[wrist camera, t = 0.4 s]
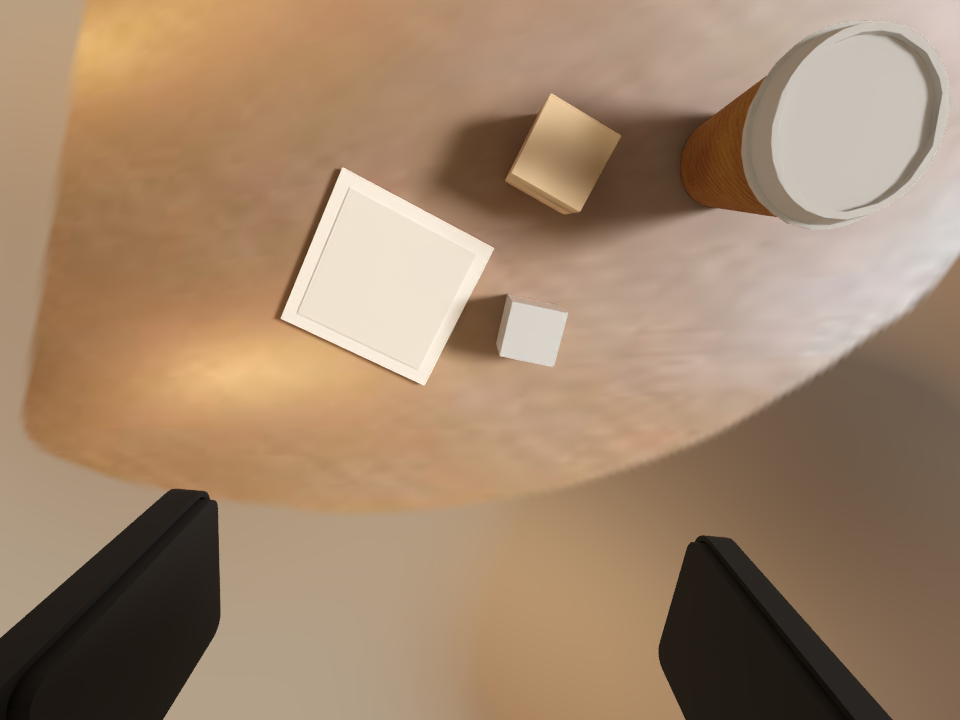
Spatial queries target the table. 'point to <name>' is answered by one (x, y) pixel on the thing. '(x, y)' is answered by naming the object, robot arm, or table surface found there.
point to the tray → (385, 278)
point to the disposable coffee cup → (826, 129)
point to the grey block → (530, 330)
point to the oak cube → (562, 156)
